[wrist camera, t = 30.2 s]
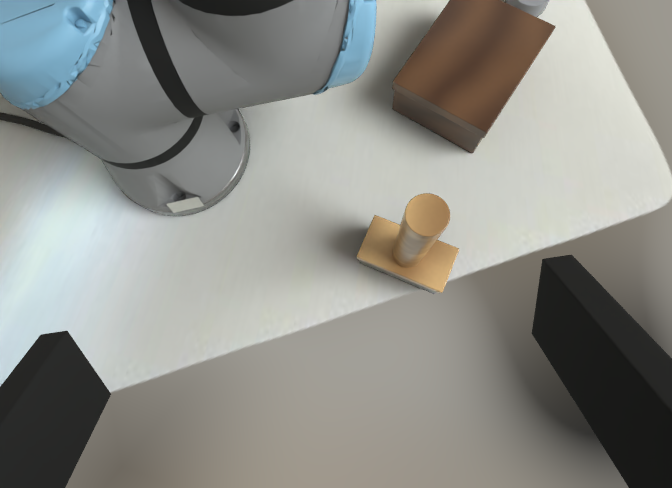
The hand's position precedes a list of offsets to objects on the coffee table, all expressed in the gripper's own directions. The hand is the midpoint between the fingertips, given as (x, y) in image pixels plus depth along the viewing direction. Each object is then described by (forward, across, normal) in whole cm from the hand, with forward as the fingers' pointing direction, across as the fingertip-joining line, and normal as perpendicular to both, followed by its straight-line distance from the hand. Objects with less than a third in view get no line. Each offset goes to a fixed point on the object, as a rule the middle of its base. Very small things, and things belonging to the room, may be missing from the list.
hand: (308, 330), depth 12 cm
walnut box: (+38, +16, -4) cm, 42 cm away
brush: (+26, +6, -16) cm, 31 cm away
